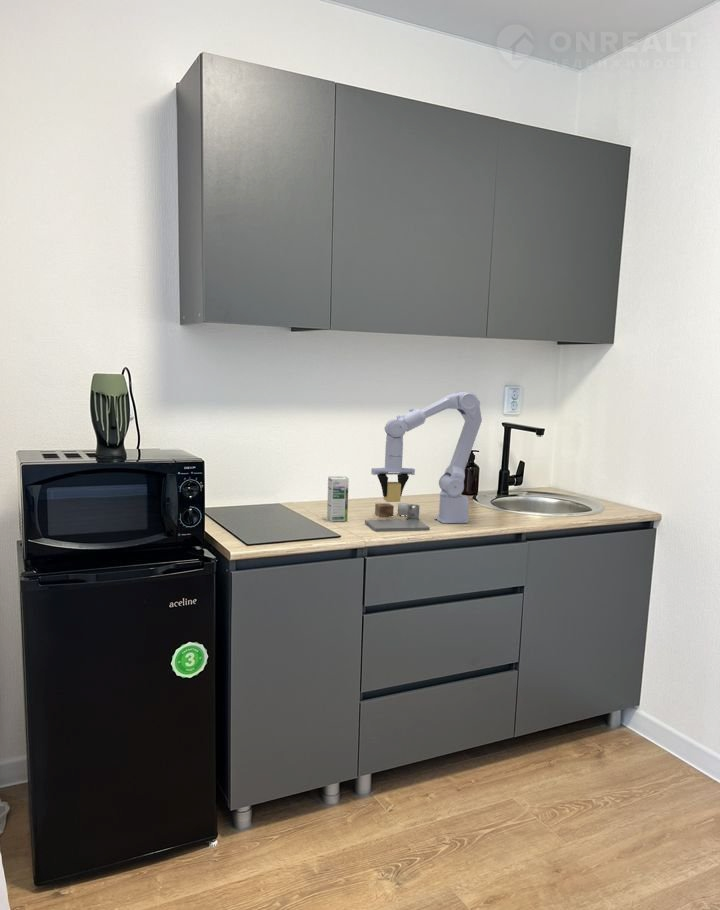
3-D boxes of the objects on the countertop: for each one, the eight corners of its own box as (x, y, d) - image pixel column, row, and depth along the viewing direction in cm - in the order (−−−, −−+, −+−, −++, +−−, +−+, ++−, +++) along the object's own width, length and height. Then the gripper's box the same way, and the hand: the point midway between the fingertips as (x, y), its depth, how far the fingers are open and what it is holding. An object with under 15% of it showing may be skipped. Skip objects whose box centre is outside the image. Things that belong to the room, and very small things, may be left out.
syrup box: (330, 522, 229) (332, 478, 227) (326, 518, 235) (328, 475, 233) (347, 521, 231) (349, 478, 229) (343, 517, 236) (344, 475, 235)
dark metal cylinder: (416, 518, 240) (417, 504, 239) (420, 521, 236) (421, 506, 235) (405, 518, 239) (406, 504, 238) (409, 521, 235) (409, 506, 234)
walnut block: (388, 514, 246) (389, 503, 245) (393, 517, 241) (393, 506, 240) (374, 514, 244) (375, 503, 244) (379, 517, 239) (379, 506, 239)
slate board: (416, 522, 234) (417, 519, 233) (429, 530, 222) (429, 527, 222) (364, 523, 229) (365, 520, 229) (375, 531, 217) (375, 528, 217)
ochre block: (396, 499, 236) (397, 481, 236) (400, 501, 232) (401, 483, 231) (383, 499, 235) (384, 481, 235) (387, 501, 231) (388, 483, 230)
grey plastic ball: (406, 514, 247) (407, 503, 246) (410, 516, 243) (410, 505, 242) (396, 514, 246) (396, 503, 245) (399, 516, 242) (399, 505, 242)
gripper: (410, 454, 238) (408, 493, 239) (369, 453, 234) (368, 494, 236) (417, 456, 231) (415, 497, 232) (375, 456, 227) (373, 497, 229)
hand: (392, 496), depth 233 cm, fingers closed on ochre block, 4 cm apart
